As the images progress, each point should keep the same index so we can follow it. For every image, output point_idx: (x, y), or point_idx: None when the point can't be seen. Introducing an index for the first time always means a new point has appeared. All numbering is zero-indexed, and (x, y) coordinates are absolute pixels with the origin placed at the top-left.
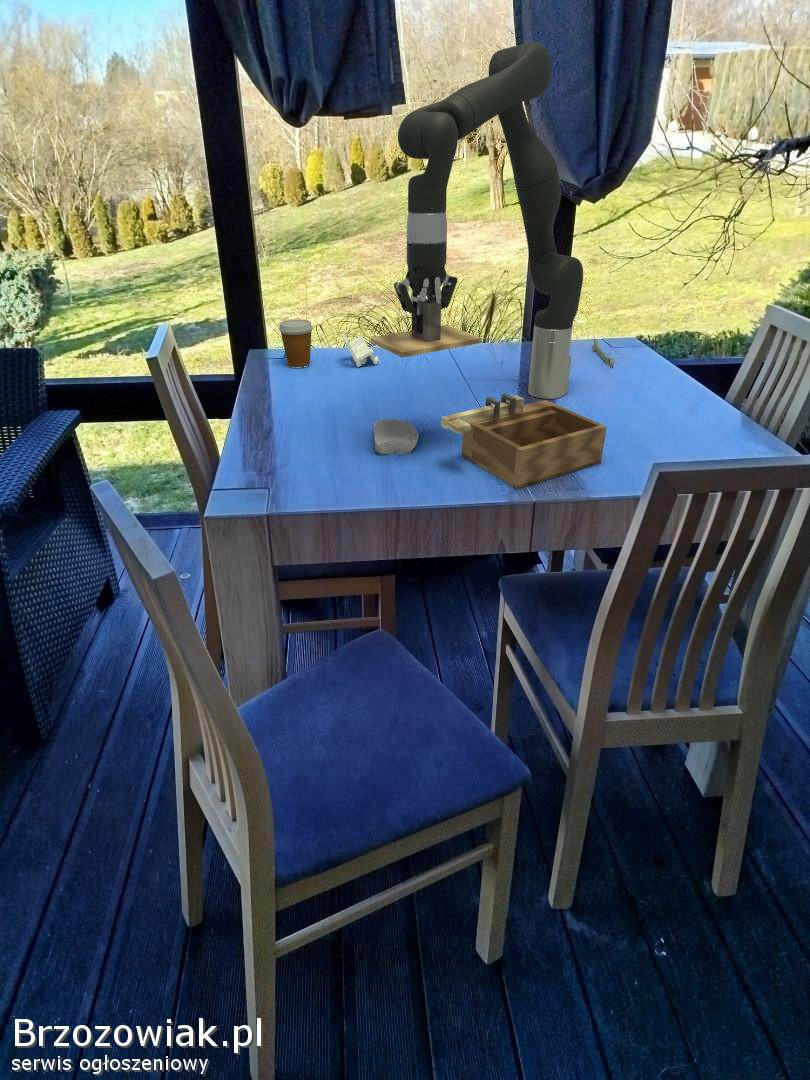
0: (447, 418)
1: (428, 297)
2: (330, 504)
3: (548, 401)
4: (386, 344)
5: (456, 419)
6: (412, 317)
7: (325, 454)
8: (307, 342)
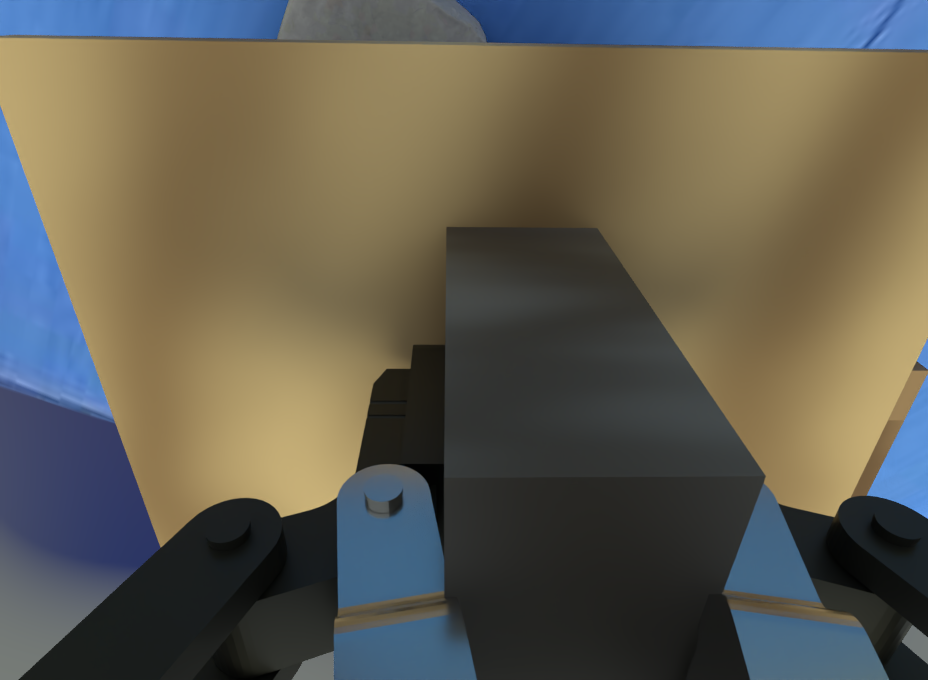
0: None
1: (714, 637)
2: (26, 362)
3: (918, 387)
4: (98, 355)
5: None
6: (359, 468)
7: (61, 19)
8: None
